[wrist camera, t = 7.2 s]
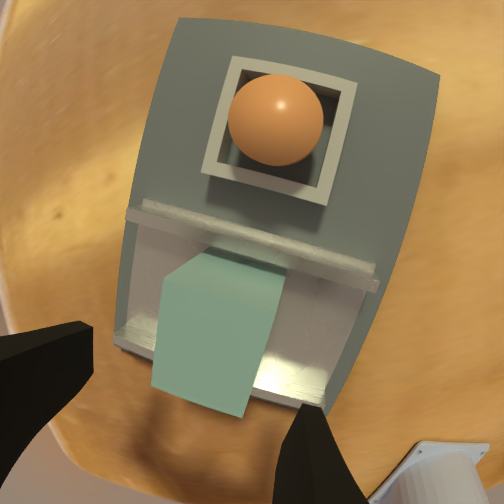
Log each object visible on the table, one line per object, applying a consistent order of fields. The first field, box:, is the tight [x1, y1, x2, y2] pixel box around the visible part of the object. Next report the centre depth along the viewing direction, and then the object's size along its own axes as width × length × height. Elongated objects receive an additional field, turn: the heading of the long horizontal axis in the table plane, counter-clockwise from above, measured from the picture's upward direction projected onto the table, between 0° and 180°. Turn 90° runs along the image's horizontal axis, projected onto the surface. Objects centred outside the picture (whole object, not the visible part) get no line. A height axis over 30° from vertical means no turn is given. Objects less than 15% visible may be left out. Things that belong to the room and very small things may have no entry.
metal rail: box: [113, 198, 380, 410], centre depth 15 cm, size 8×12×2 cm
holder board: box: [114, 18, 440, 417], centre depth 16 cm, size 20×14×1 cm
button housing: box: [201, 56, 358, 206], centre depth 13 cm, size 6×6×2 cm
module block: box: [151, 248, 287, 418], centre depth 14 cm, size 5×4×5 cm
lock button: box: [228, 74, 323, 166], centre depth 12 cm, size 4×4×2 cm
